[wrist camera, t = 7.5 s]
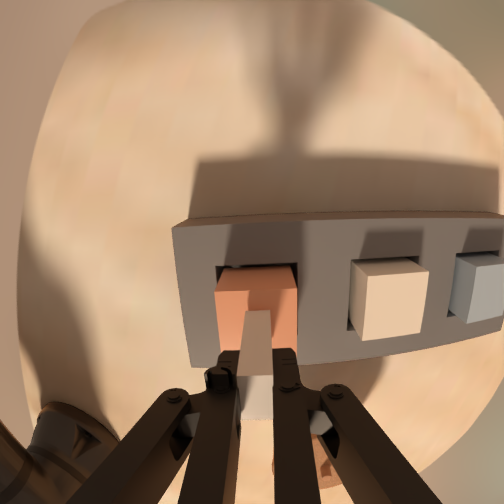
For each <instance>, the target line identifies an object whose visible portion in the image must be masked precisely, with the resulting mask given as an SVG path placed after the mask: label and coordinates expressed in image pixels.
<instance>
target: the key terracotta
mask: <svg viewBox="0 0 504 504" xmlns="http://www.w3.org/2000/svg"><path fill="white" fill-rule="evenodd" d="M214 294H215V304H216V313H217V322H218V331H219V340H220V348H221V353H222V352H223V351H224V350H240V347H241V339H242V332H243V325H244V317H245V311H259V310H270V317H271V338H272V348H292V349H293V350H294V351H295V352H296V358H297V286H296V283H295V280H294V277H293V274H292V271H291V268H290V265H289V266H267V267H244V268H224V270H223V272H222V274H221V277H220V279H219V282H218V284H217V286H216V289H215V291H214Z"/></svg>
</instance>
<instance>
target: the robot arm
mask: <svg viewBox="0 0 504 504" xmlns="http://www.w3.org/2000/svg"><path fill="white" fill-rule="evenodd" d="M204 377H205V383H206V388H207V389H206V391H204V392H202V393H198V394H193V395H189V394H188V392H187V391H186V390H183V389H180V388H173V389H169V390H166V391H164V392H163V393H162V394H161V395H160V396H159V397H158V398H157V400H156V401H155V402H154V403H153V404H152V405H151V407H150V408H149V409H148V410H147V411H146V412H145V414H144V415H143V416H142V417H141V418H140V419H139V421H138V422H137V423H136V424H135V425H134V426H133V428H132V429H131V430H130V431H129V432H128V433H127V435H126V436H125V437H124V438H123V439H122V440H121V441H120V443H118V441H117V440H116V439H115V438H114V436H113V435H112V434H111V433H110V432H109V431H108V430H107V429H106V428H105V427H104V426H102V425H101V424H100V423H99V422H97V421H96V420H95V419H93V418H92V417H90V416H89V415H87V414H86V413H84V412H82V411H81V410H79V409H77V408H75V407H72V406H70V405H67V404H64V403H59V402H51V403H48V404H47V405H46V406H45V407H44V408H43V409H42V411H41V412H40V413H39V415H38V418H37V425H36V427H35V430H34V433H33V437H32V441H31V443H30V445H29V446H28V448H27V449H25V448H24V447H23V446H22V445H21V444H20V442H19V441H18V440H17V439H16V438H15V437H14V436H13V434H12V433H11V432H10V431H9V430H8V429H7V427H6V426H5V425H4V424H3V422H2V421H1V420H0V504H158V502H159V501H160V499H161V498H162V496H163V495H164V493H165V492H166V490H167V488H168V487H169V485H170V484H171V482H172V481H173V479H174V477H175V476H176V474H177V473H178V471H179V469H180V468H181V466H182V465H183V463H184V461H185V460H186V458H187V456H188V455H189V453H190V455H189V459H188V463H187V467H186V472H185V476H184V480H183V484H182V488H181V492H180V496H179V500H178V504H234V503H235V492H236V481H237V470H238V459H239V448H240V436H241V422H240V420H273V437H274V498H275V504H321V499H320V492H319V485H318V478H317V471H316V464H315V457H314V451H313V444H312V438H311V433H312V434H316V435H317V438H318V440H319V442H320V444H321V445H322V447H323V449H324V451H325V453H326V455H327V456H328V458H329V460H330V462H331V464H332V465H333V467H334V469H335V471H336V472H337V474H338V476H339V478H340V480H341V481H342V483H343V485H344V487H345V488H346V490H347V492H348V494H349V495H350V497H351V499H352V501H353V502H354V504H442V503H441V501H440V500H439V499H438V498H437V496H436V495H435V494H434V493H433V492H432V491H431V489H430V488H429V487H428V485H427V484H426V483H425V482H424V481H423V479H422V478H421V477H420V476H419V474H418V473H417V472H416V471H415V469H414V468H413V467H412V466H411V465H410V463H409V462H408V461H407V460H406V458H405V457H404V456H403V455H402V453H401V452H400V451H399V450H398V449H397V447H396V446H395V445H394V444H393V442H392V441H391V440H390V439H389V437H388V436H387V435H386V434H385V432H384V431H383V430H382V429H381V427H380V426H379V425H378V424H377V422H376V421H375V420H374V419H373V417H372V416H371V415H370V414H369V412H368V411H367V410H366V409H365V407H364V406H363V405H362V404H361V402H360V401H359V400H358V399H357V397H356V396H355V395H354V394H353V392H352V391H351V390H350V389H349V388H348V387H347V386H344V385H341V384H331V385H328V386H325V387H324V388H323V389H322V390H321V391H314V390H310V389H308V388H306V387H304V386H303V385H302V383H301V381H300V375H299V369H298V364H297V358H296V352H295V351H294V350H293V349H292V348H272V338H271V317H270V310H259V311H245V317H244V325H243V332H242V339H241V347H240V350H224V351H223V352H222V353H221V354H220V355H219V356H218V360H217V364H216V366H214V367H211V368H209V369H208V370H206V372H205V373H204Z"/></svg>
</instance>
